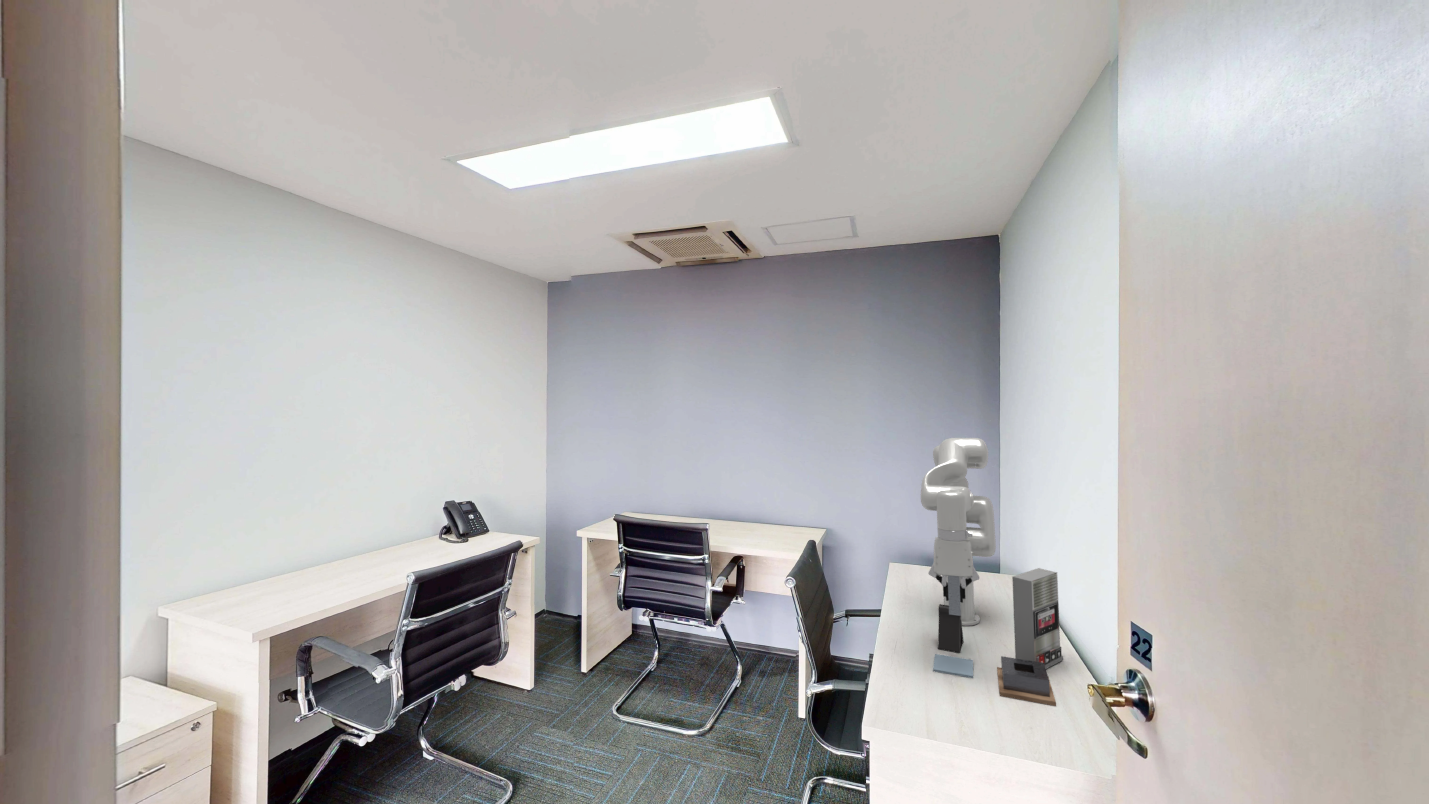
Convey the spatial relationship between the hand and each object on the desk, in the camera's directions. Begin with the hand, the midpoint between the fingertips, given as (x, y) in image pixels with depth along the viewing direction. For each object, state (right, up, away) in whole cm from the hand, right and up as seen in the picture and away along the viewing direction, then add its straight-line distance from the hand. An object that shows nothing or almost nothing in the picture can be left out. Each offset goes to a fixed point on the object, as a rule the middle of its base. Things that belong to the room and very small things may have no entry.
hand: (954, 599), depth 149 cm
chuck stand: (+13, -18, -12) cm, 25 cm away
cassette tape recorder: (+24, -19, +1) cm, 31 cm away
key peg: (0, -4, 0) cm, 4 cm away
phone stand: (+5, -19, +13) cm, 24 cm away
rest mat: (0, -19, 0) cm, 19 cm away
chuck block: (+13, -18, -12) cm, 25 cm away
